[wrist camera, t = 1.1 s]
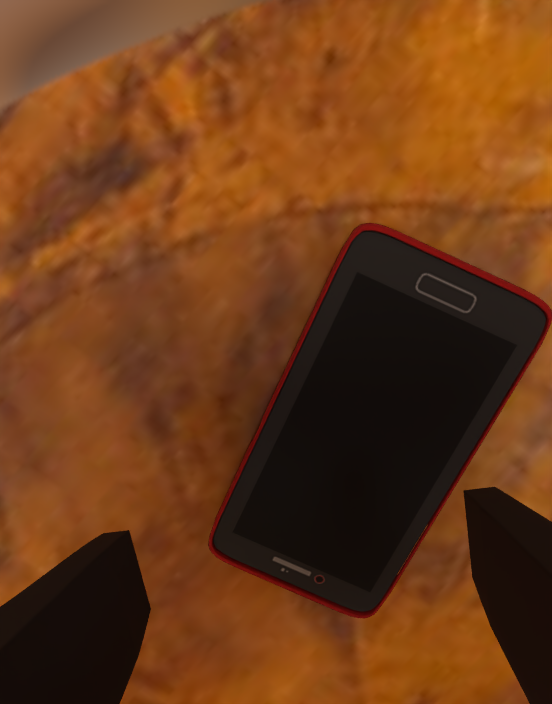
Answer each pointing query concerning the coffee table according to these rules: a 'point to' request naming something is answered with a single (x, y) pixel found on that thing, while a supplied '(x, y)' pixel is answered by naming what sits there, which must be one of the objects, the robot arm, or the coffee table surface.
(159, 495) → the coffee table surface
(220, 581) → the coffee table surface
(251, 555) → the cell phone
